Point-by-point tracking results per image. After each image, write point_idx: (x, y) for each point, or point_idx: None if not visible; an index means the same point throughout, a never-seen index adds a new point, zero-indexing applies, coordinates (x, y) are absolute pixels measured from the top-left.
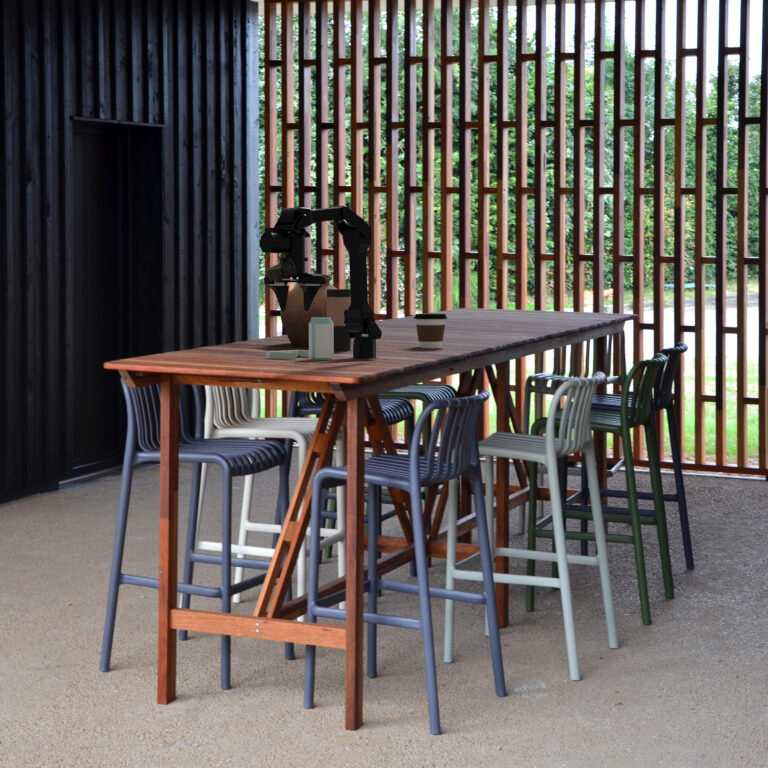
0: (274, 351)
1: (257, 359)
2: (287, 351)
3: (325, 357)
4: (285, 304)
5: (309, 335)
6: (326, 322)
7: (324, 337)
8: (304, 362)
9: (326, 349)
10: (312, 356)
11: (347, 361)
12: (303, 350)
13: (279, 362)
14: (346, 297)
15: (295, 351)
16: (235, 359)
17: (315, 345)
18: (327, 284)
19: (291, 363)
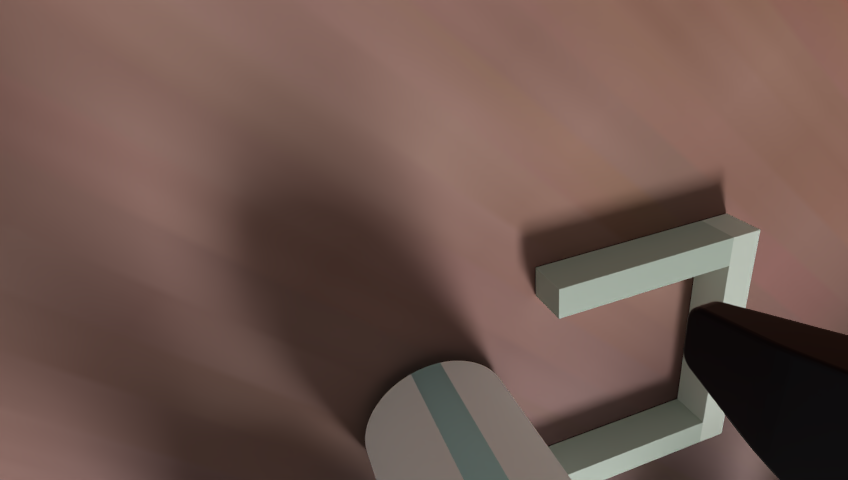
0: (728, 272)
1: (716, 125)
2: None
3: (368, 422)
4: (773, 453)
5: (533, 465)
6: None
7: None
8: (234, 198)
9: (380, 467)
10: (435, 369)
11: (162, 475)
12: (669, 434)
13: (361, 41)
14: None
15: (701, 402)
16: (819, 12)
17: (436, 430)
18: None
19: (166, 35)
